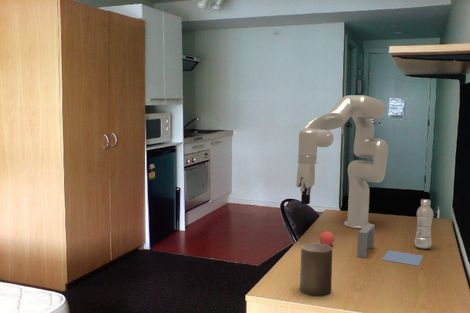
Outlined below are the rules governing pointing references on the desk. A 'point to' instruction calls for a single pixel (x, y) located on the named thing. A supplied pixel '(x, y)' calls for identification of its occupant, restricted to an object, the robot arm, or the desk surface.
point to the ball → (326, 238)
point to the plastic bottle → (424, 225)
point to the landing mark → (403, 258)
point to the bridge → (365, 240)
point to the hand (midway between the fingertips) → (305, 203)
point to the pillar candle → (316, 269)
